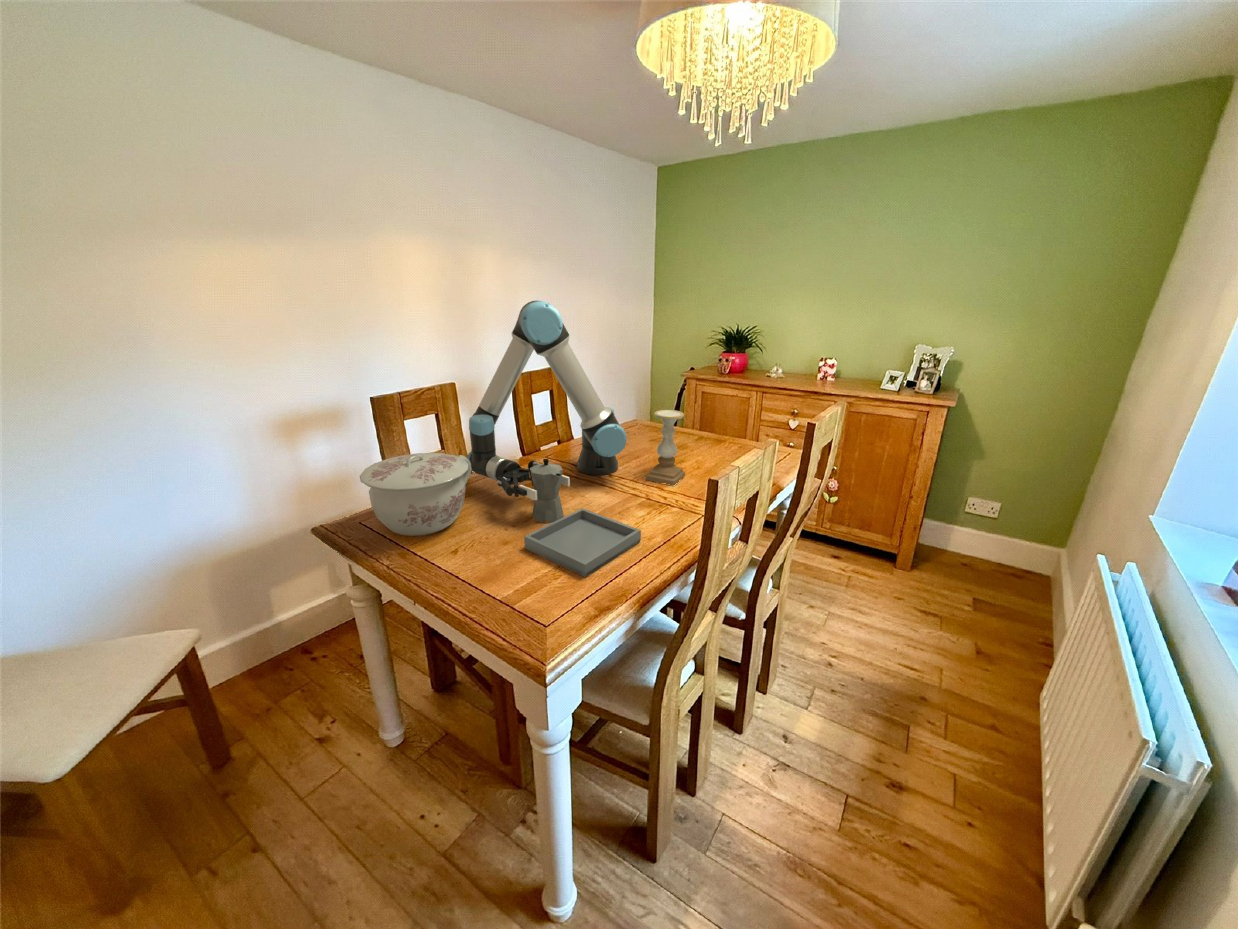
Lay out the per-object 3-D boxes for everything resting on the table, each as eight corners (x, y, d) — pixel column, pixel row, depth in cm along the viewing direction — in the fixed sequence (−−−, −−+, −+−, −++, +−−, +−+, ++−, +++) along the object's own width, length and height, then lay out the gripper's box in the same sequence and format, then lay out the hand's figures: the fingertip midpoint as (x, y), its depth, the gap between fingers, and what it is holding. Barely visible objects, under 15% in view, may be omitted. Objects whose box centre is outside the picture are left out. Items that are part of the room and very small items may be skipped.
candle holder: (645, 480, 171) (647, 414, 162) (657, 470, 180) (660, 407, 172) (674, 486, 166) (678, 418, 158) (685, 476, 175) (689, 411, 167)
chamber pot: (361, 555, 121) (346, 478, 114) (377, 509, 145) (366, 443, 138) (477, 540, 129) (471, 467, 122) (474, 499, 153) (468, 436, 146)
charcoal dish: (582, 519, 142) (582, 508, 140) (640, 541, 130) (640, 530, 128) (524, 548, 125) (524, 536, 124) (585, 577, 113) (585, 564, 112)
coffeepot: (574, 519, 142) (573, 461, 135) (548, 529, 135) (545, 468, 129) (543, 502, 152) (541, 448, 146) (517, 511, 146) (514, 454, 140)
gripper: (534, 471, 161) (582, 487, 149) (472, 494, 143) (520, 514, 131) (533, 450, 159) (581, 464, 146) (469, 470, 140) (519, 489, 128)
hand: (553, 488), depth 138 cm, fingers open, 12 cm apart
